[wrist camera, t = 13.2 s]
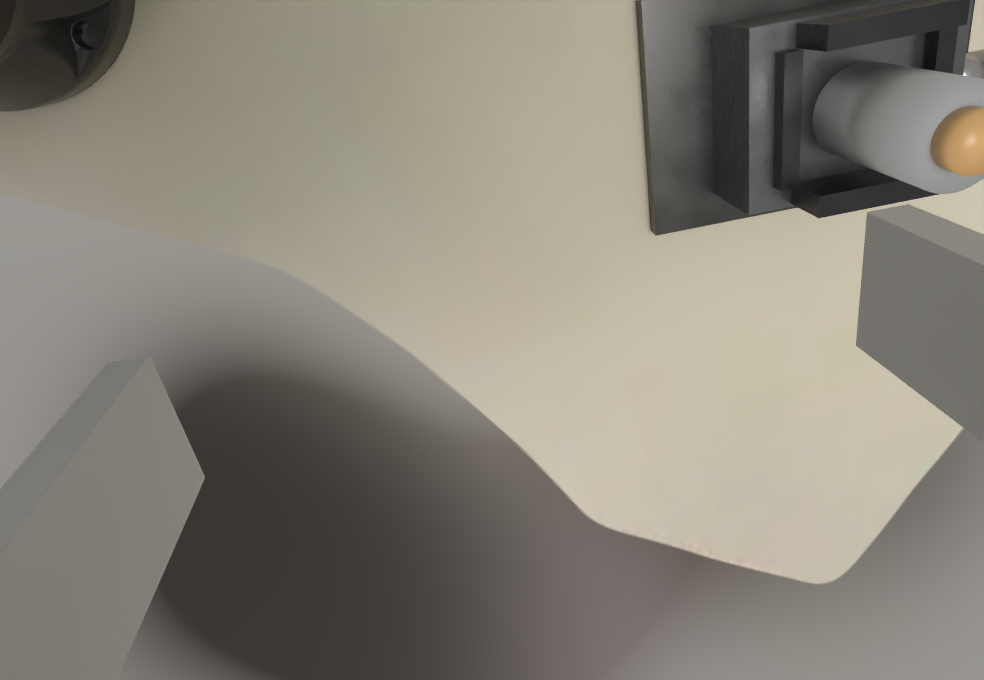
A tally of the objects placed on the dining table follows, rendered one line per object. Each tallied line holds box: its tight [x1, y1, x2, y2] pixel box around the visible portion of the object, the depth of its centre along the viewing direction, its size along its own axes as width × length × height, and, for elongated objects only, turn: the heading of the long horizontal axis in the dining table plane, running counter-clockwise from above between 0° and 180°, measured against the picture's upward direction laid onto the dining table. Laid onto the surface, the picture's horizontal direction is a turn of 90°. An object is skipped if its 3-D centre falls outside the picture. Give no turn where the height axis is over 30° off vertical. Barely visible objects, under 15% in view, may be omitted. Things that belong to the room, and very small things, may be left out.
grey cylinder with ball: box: [812, 61, 984, 194], centre depth 33 cm, size 5×5×9 cm
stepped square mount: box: [636, 0, 984, 235], centre depth 39 cm, size 20×14×9 cm
